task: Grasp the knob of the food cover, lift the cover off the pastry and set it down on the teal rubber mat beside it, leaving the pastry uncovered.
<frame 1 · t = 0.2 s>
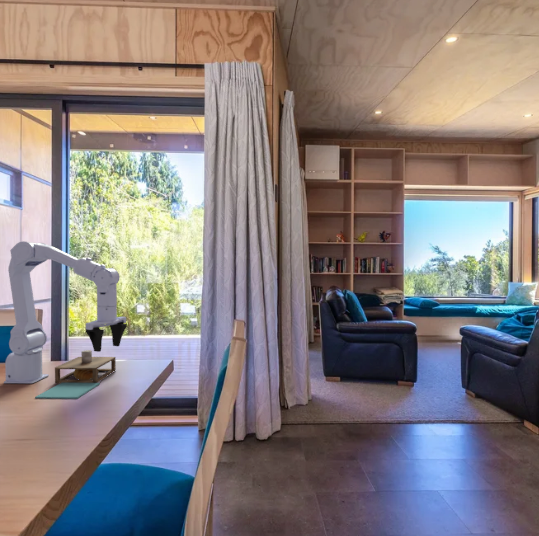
hand: (107, 348, 116), 10 cm above the table, tool pointing down, fingers open, 7 cm apart
cover: (86, 376, 119), on the table
pastry: (87, 378, 119), on the table
mat: (69, 390, 106), on the table
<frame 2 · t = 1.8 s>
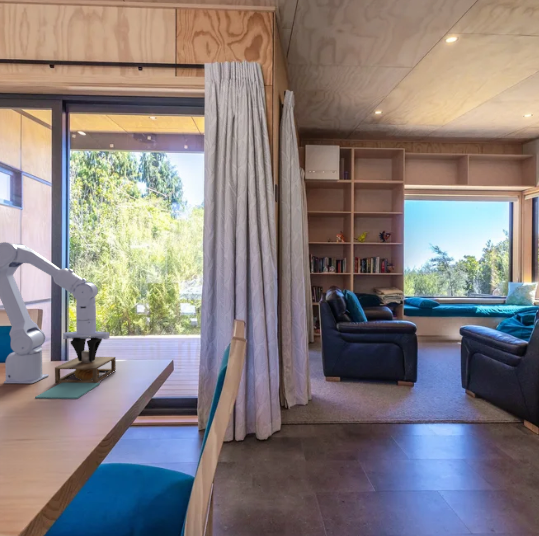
hand: (86, 360, 119), 5 cm above the table, tool pointing down, fingers closed on cover, 3 cm apart
cover: (86, 376, 119), on the table, touching gripper
everything else where it was.
when the fingers open (7 cm above the table, at t = 5.2 s): cover stays where it is, resting on mat.
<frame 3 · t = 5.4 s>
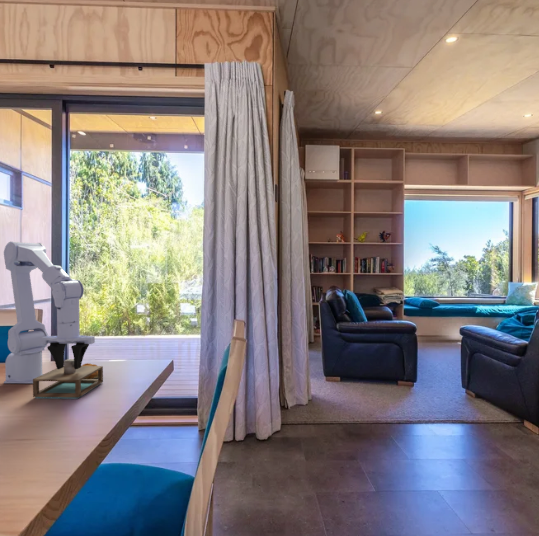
hand: (68, 368, 106), 7 cm above the table, tool pointing down, fingers open, 5 cm apart
cover: (70, 388, 106), resting on mat
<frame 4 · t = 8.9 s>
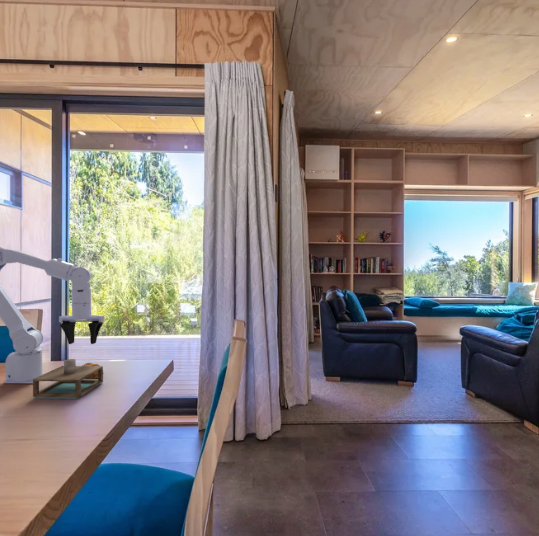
hand: (82, 343, 121), 10 cm above the table, tool pointing down, fingers open, 7 cm apart
at the end: cover 0.4 cm from the target spot, on the table; cover tilted 0°; pastry moved 2.0 cm from its start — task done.
